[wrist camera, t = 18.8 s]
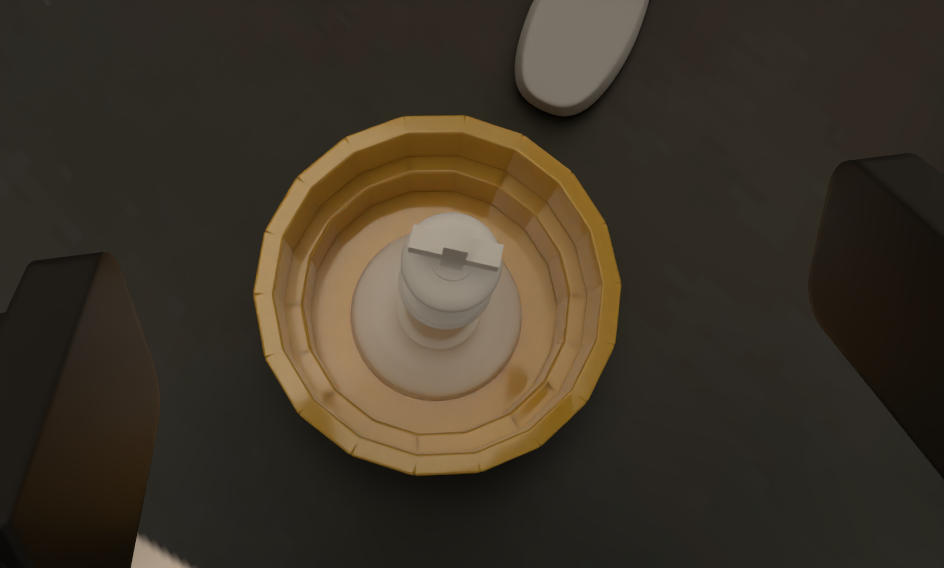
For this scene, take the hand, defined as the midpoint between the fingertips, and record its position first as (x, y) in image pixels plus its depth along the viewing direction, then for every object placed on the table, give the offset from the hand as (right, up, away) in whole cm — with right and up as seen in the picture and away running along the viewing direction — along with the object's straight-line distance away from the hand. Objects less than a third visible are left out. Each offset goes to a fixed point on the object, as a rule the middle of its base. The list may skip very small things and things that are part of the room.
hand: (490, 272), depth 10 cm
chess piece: (-1, -1, +15) cm, 15 cm away
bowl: (-1, -1, +16) cm, 16 cm away
